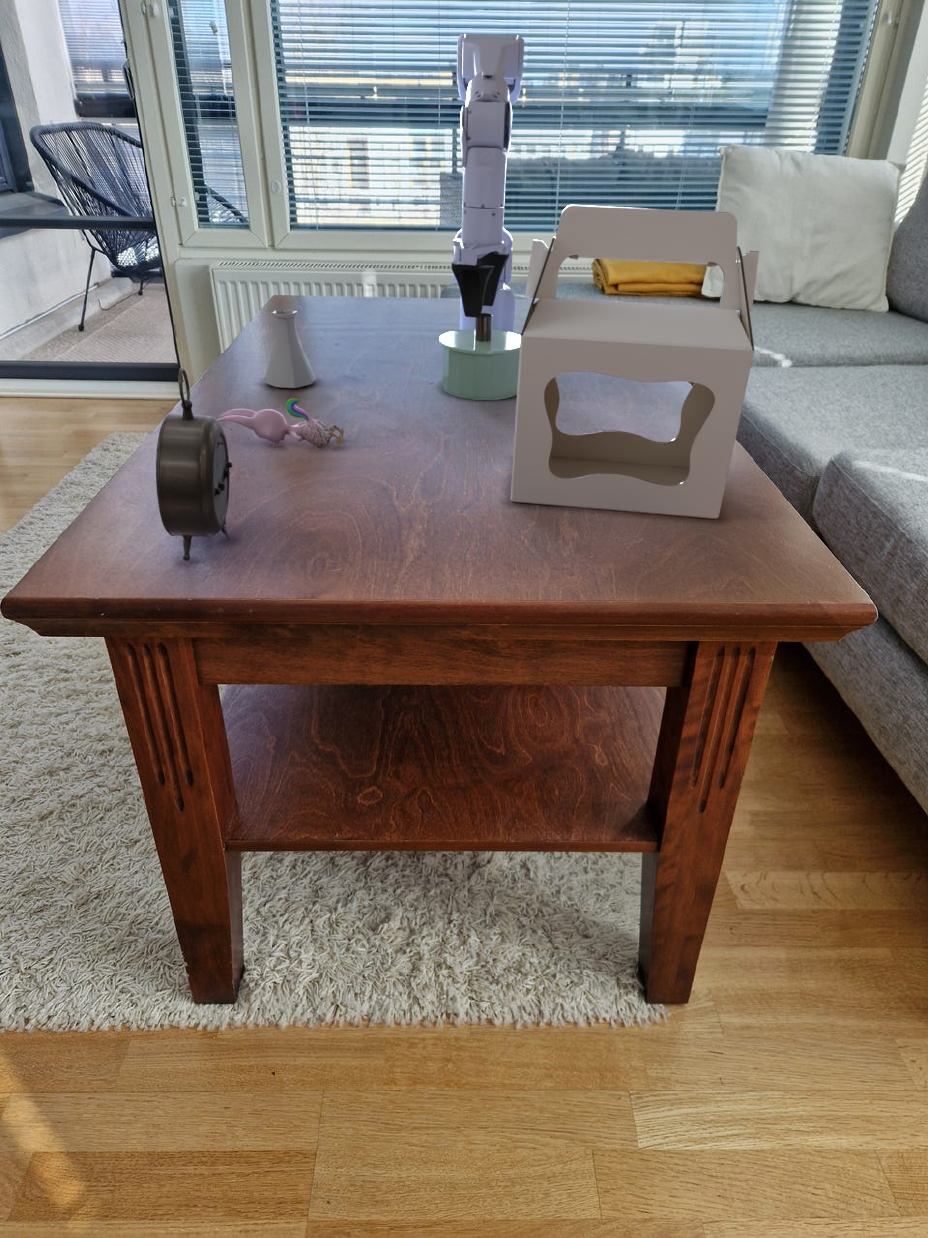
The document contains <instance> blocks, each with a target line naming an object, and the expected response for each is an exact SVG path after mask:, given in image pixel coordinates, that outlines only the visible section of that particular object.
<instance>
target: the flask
mask: <svg viewBox="0 0 928 1238" xmlns="http://www.w3.org/2000/svg"><path fill="white" fill-rule="evenodd" d="M271 313H272V317H274V320H275V321H274V322H275V332H274V342H273V345H272V350H271V354H270V359H269V362H268V366H267V369H266V372H265V377H264V381H263V383H264V384H267V385H270V386H273V387H274V388H285V389H286V388H287V389H296V388H298V389H299V388H301V387H306V386H309V385H310V386H311V385H312V384H313V383H314V382H315V381H316V380H317V377H316V375H315V372H314V370H313V368H312V366H311V363H310V362H309V359H308V357H307V356H306V353H305V350H304V348H303V345H302V343H301V340H300V338H299V334H298V330H297V325H296V317H297V314H298V312H297V310H293V309H283V308H282V309H277V310H274V311H272V312H271Z"/></svg>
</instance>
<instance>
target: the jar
mask: <svg viewBox="0 0 928 1238" xmlns="http://www.w3.org/2000/svg"><path fill="white" fill-rule="evenodd" d="M519 355H520V351H517V352H513V353H507V354H496V355H480V354H468V353H461V352H456V351H452V350H449V349H447V348H444V347H443V346H442V390H443V391H444V392H445V393H447V394H449V395H451V396H454V397H457V398H461V399H467V400H473V401H474V400H475V401H498V400H504V399H506V400H507V399H510V398H513V397H517V387H518V371H519Z"/></svg>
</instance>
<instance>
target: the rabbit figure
mask: <svg viewBox="0 0 928 1238" xmlns="http://www.w3.org/2000/svg"><path fill="white" fill-rule="evenodd" d="M299 402H301V400H300V399H298V398H294V397H293V398H289V399H288V400H287V402H286V411H287V413H288V414H289V415H290V416H292V417H294V418H301V419H304V421H301V422H298V423H296V424H294V425H290V424H288V423H287V420H286V417H285V416H284V415H283V414H282V413H281V412H280V411H277V410H275V409H273V408H272V409H271V408H263V409H261V410H258V411H255V410H252V409H248V408H234V409H233V408H232V409H230V410H228V411H226V412H223V413H222V414H220V415H219V418H216V420H217V421H218V422H219V423H220V422H224V421H225V422H226V421H228V422H233V423H236V424H239V425H241V426H244V427H245V428H248V429H250V430H252V431H253V432H254V434H255V435H256V436H257V437H258V438H260V439H264V440H266V441H268V442H271V443H273V444H276V445H278V444H280V442H282V441H285V439H286V435H289V436H291V437H292V438H293V439H294V440H296V441H298V442H301V441H307V442H308V443H309V444H312V445H314V446H315V447H318V448H324V447H327V446H328V445H329V443H330V440H331V438H332V437H334V438H335V439H336V442H337V448H338V449H340V445H341V441H343V439H342V438H344V432H345V431H344V428H345V426H342V427H341V428H340V427H338V426H337V425H336V424H332V425H326V423H323V421H321V420H319V419H315V418H312V417H311V416H310V415H309V413H308V412H307V411H306V410H305V409H303V408H301V407H299V406H297V405H296V404H297V403H299ZM335 431H338V432H339V434H338V435H337V434H336V433H334V432H335Z"/></svg>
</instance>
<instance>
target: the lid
mask: <svg viewBox="0 0 928 1238" xmlns="http://www.w3.org/2000/svg"><path fill="white" fill-rule="evenodd" d="M520 339H521V334H517V333H514V332H513V333H510V332H506V331H499V330H492V315H491V314H488V313H481V315H480V317H479V318H475V329H466V330H460V329H457V330H452V331H448V332H445V333H443V334H441V335H440V336H439V338H438V344H439V345H440V346H441V347H442V348H443V347H444V348H447V349H449V350H452V351H456V352H461V353H468V354H480V355H496V354H507V353H513V352H517V351H520Z"/></svg>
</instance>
